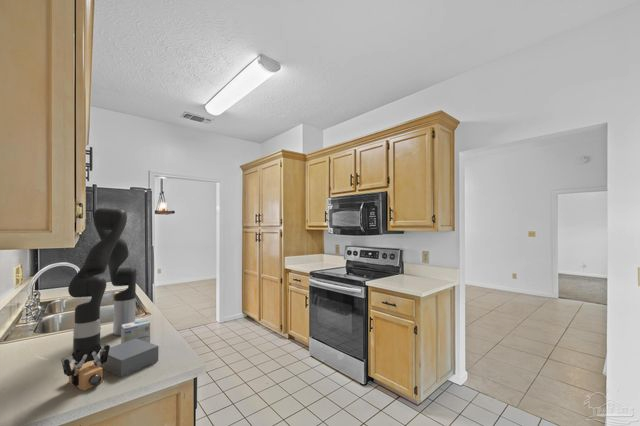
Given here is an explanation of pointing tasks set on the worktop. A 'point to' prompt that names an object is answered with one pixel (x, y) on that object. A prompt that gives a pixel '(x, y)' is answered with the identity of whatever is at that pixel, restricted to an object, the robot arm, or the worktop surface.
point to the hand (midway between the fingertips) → (86, 380)
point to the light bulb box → (136, 331)
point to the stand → (130, 356)
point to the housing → (89, 376)
